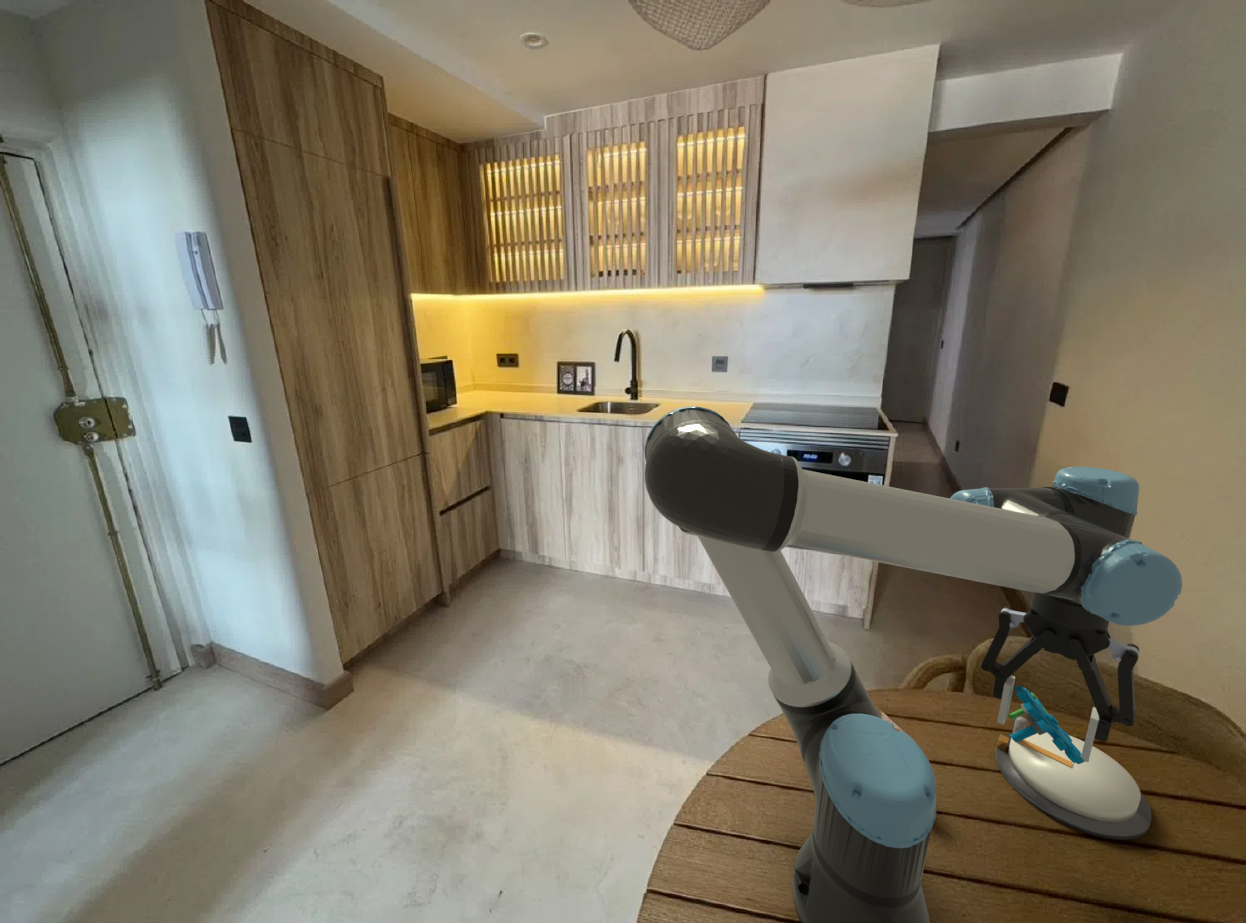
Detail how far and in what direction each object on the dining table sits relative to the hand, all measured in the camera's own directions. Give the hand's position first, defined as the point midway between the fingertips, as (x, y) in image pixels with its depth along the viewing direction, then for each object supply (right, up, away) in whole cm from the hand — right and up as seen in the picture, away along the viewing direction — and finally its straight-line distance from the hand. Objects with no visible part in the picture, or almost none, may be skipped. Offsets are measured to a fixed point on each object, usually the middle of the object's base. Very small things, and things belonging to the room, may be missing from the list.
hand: (1042, 735), depth 69 cm
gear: (-1, -1, 0) cm, 1 cm away
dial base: (+11, -12, +8) cm, 18 cm away
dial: (+11, -11, +8) cm, 17 cm away
